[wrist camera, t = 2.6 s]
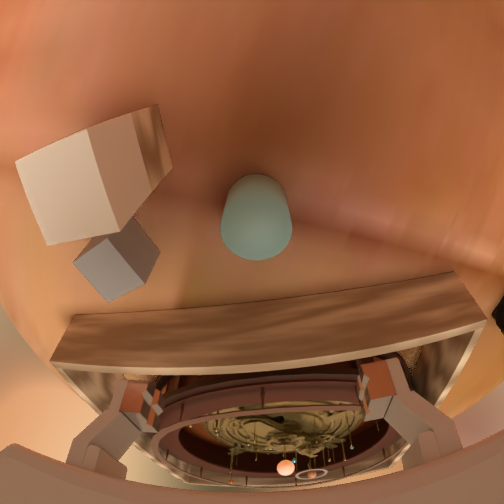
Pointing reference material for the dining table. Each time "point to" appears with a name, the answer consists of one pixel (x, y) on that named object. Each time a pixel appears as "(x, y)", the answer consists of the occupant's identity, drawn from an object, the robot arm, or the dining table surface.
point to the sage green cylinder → (256, 218)
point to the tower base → (152, 143)
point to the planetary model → (272, 422)
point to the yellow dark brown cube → (499, 315)
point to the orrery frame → (277, 348)
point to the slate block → (118, 260)
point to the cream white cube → (86, 181)
